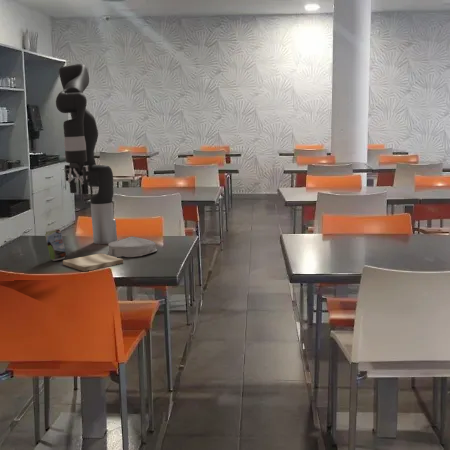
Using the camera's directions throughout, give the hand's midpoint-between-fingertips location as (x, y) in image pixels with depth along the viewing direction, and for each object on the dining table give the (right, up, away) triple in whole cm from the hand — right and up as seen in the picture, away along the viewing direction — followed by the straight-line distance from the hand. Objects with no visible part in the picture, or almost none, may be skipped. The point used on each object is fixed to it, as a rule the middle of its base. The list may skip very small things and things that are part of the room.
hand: (79, 193), depth 232 cm
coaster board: (+5, -26, +2) cm, 26 cm away
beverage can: (-11, -25, +11) cm, 29 cm away
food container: (+17, -23, +20) cm, 34 cm away
